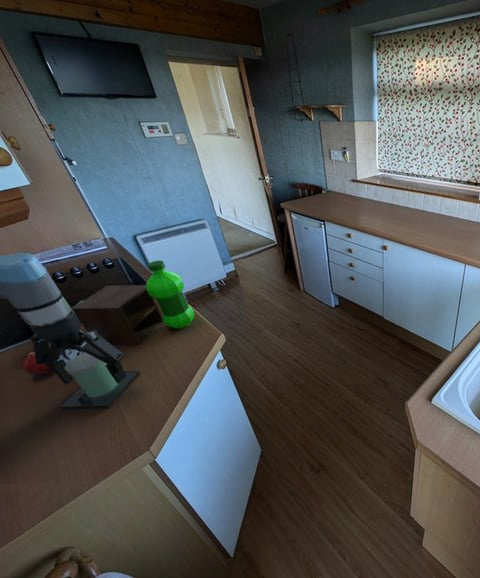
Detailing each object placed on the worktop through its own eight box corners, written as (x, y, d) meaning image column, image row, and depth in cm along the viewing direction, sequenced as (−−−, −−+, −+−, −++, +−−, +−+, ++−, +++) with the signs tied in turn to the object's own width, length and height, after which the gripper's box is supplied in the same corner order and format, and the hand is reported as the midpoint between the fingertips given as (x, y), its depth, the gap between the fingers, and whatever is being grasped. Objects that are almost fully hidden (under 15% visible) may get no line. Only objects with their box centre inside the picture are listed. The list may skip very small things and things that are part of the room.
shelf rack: (96, 345, 98) (71, 308, 90) (126, 319, 110) (106, 285, 102) (138, 344, 98) (118, 307, 91) (164, 319, 110) (148, 285, 102)
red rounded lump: (27, 377, 86) (9, 357, 82) (51, 363, 90) (36, 344, 86) (40, 382, 84) (23, 362, 80) (64, 368, 89) (49, 348, 85)
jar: (77, 398, 78) (56, 371, 73) (99, 377, 85) (81, 351, 79) (106, 397, 79) (86, 371, 73) (125, 376, 85) (109, 350, 80)
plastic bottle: (159, 333, 103) (128, 270, 90) (176, 315, 112) (150, 256, 99) (188, 333, 103) (161, 270, 91) (203, 315, 112) (180, 256, 100)
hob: (62, 409, 77) (60, 406, 76) (98, 374, 87) (97, 371, 87) (109, 407, 77) (107, 405, 77) (140, 373, 88) (138, 370, 87)
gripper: (117, 307, 73) (151, 368, 84) (13, 309, 72) (61, 370, 83) (92, 326, 66) (133, 389, 77) (-23, 328, 65) (35, 391, 76)
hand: (96, 379), depth 80 cm, fingers open, 13 cm apart
